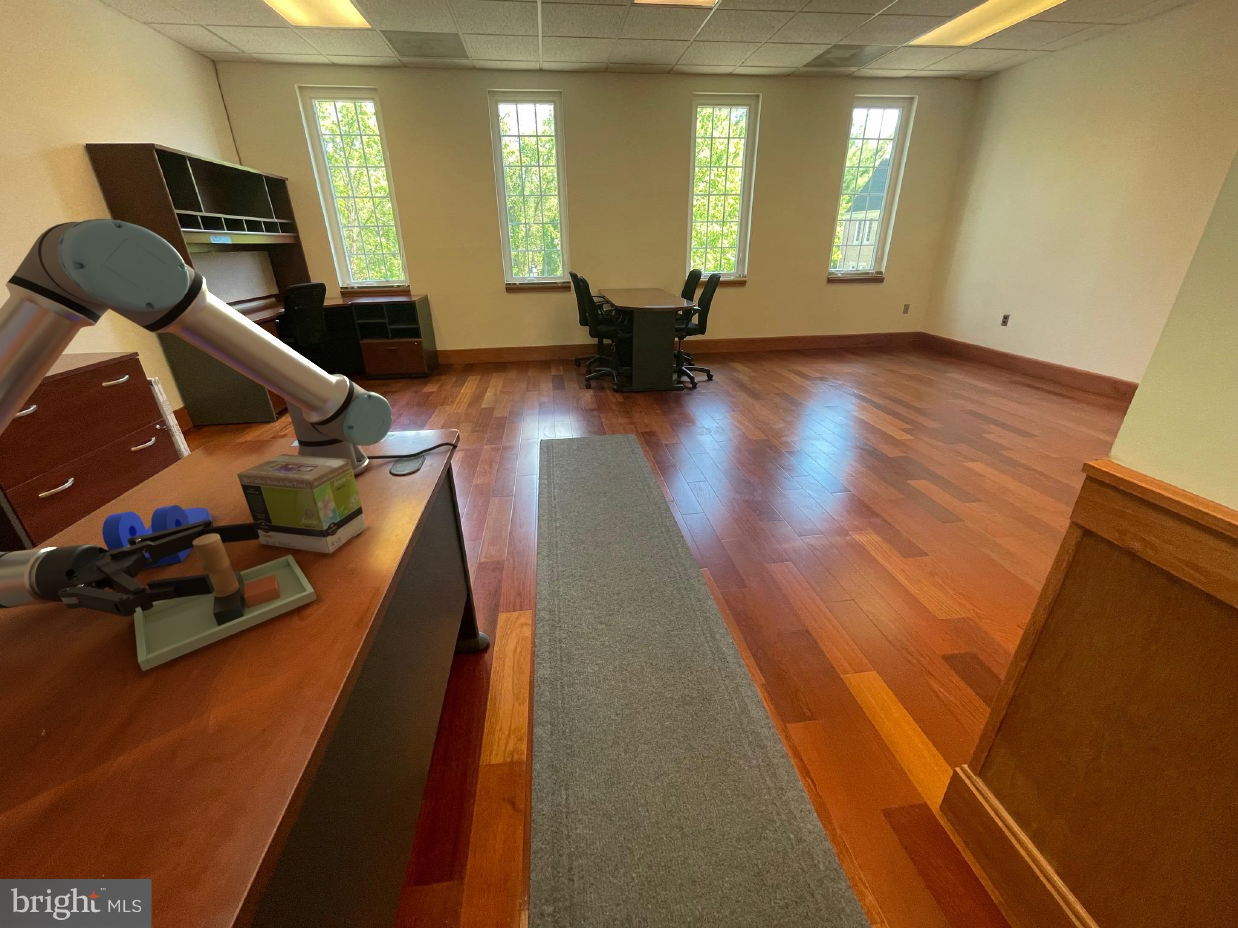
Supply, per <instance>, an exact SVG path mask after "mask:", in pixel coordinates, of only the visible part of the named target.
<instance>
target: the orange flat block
mask: <svg viewBox="0 0 1238 928" xmlns="http://www.w3.org/2000/svg"><path fill="white" fill-rule="evenodd" d="M244 598H245V601H246V603H247V606H248V608H250V607H253V606H256V605H259V604H262V603H265V602H269V601H272V600H275V599H278V598H280V591H279V584H278V581H277V578H276V575H271V576H268V577H265V578H261V579H258V580H255V581H252V582H248V583H245V584H244Z"/></svg>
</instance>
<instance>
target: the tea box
mask: <svg viewBox="0 0 1238 928" xmlns="http://www.w3.org/2000/svg"><path fill="white" fill-rule="evenodd" d="M236 476H237V478H238V481H239V484H240V487H241V490H242V493H243V496H244V498H245V502H246V505H247V507H248V510H249V513H250V516H251V518H252V523H253V522H255V524H256V527H257V530H258V533H259V536H260V537H259V539H258V540H259V542H260V544H261V545H268V546H275V547H281V548H288V549H296V550H302V551H308V552H314V553H315V552H316V553H323V554H332V553H333V552H335V551H336V550H337V549H338V548H339V547H341V546H342V545H343V544H345V543H346V542H347V541H348V540H351V539H352V538H353V537H356V536H358V535H359V534H360V533H362V532H363V531H364V530H365V529H366V528H367V524H366V520H365V519H366V518H365V516H364V511H363V506H362V503H361V499H360V494H359V491H358V486H357V483H356V478H355V477H354V473H353V469H352V466H351V462H350V460H349V459H338V458H325V457H313V456H302V455H298V454H289V453H282V454H280V455H278V456H275V457H273V458H270V459H268V460H266V461H264V462H262V463H259V464H256V465H254V466H252V467H250V468H247V469H245V470H243V471H240V472H238V473H236Z"/></svg>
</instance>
